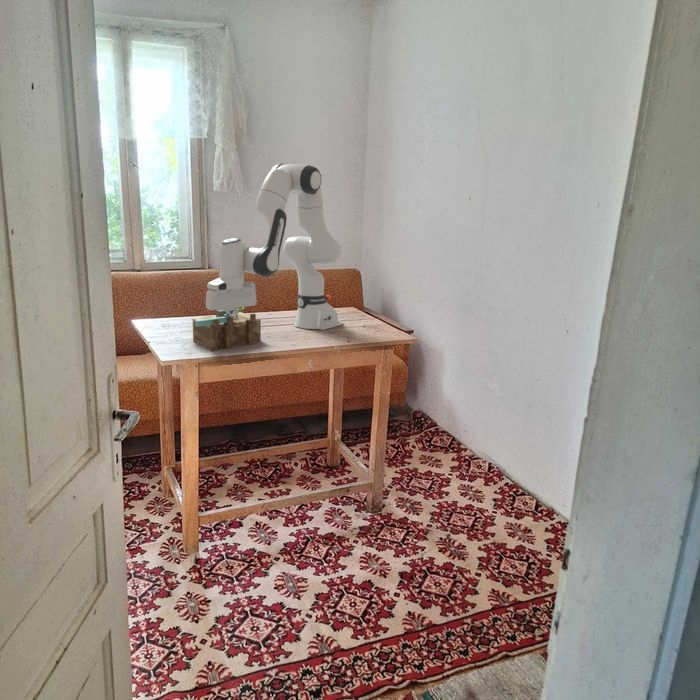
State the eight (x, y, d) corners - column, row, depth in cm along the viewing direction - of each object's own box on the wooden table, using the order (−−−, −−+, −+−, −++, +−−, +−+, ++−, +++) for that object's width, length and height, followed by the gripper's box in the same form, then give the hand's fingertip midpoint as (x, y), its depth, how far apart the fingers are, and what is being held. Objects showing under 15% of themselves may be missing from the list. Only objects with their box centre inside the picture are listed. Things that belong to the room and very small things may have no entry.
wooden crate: (241, 333, 249) (240, 304, 245) (266, 342, 236) (266, 312, 233) (190, 341, 233) (189, 310, 230) (214, 351, 221) (214, 319, 218)
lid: (241, 316, 247) (240, 303, 245) (265, 324, 235) (265, 311, 234) (192, 323, 232) (192, 309, 231) (215, 332, 220) (215, 318, 219)
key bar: (226, 321, 226) (226, 313, 225) (229, 322, 224) (229, 315, 223) (194, 325, 217) (194, 318, 216) (198, 326, 215) (197, 319, 214)
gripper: (250, 279, 231) (250, 314, 235) (203, 283, 217) (203, 320, 221) (259, 282, 227) (259, 317, 230) (212, 286, 213) (212, 324, 217)
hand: (231, 319), depth 226 cm, fingers closed
